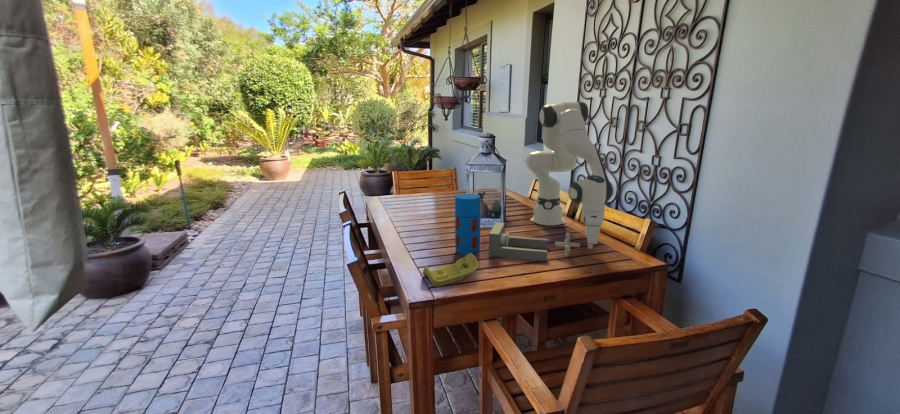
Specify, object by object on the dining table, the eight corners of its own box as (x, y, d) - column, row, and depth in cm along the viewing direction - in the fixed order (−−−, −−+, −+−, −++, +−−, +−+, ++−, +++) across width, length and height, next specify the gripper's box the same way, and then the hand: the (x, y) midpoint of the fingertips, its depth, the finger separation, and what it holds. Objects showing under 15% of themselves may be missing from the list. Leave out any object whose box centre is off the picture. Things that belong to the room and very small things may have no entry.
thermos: (464, 258, 168) (464, 200, 162) (450, 250, 176) (450, 195, 170) (484, 252, 174) (485, 197, 167) (470, 246, 182) (470, 192, 176)
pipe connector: (580, 260, 164) (581, 237, 161) (555, 259, 166) (556, 236, 163) (577, 252, 173) (579, 230, 171) (553, 251, 175) (555, 229, 173)
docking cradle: (495, 243, 186) (495, 222, 183) (548, 247, 179) (549, 226, 177) (488, 255, 170) (489, 233, 168) (546, 261, 164) (547, 238, 161)
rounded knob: (493, 243, 180) (493, 229, 179) (509, 244, 179) (509, 230, 177) (491, 247, 174) (491, 233, 173) (507, 249, 173) (507, 235, 171)
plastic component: (435, 283, 139) (423, 263, 145) (433, 296, 143) (421, 276, 150) (483, 268, 148) (469, 249, 154) (479, 281, 152) (466, 262, 159)
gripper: (583, 209, 173) (581, 239, 177) (585, 221, 154) (583, 255, 157) (598, 209, 171) (596, 240, 175) (603, 223, 152) (599, 256, 156)
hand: (589, 247), depth 166 cm, fingers closed
